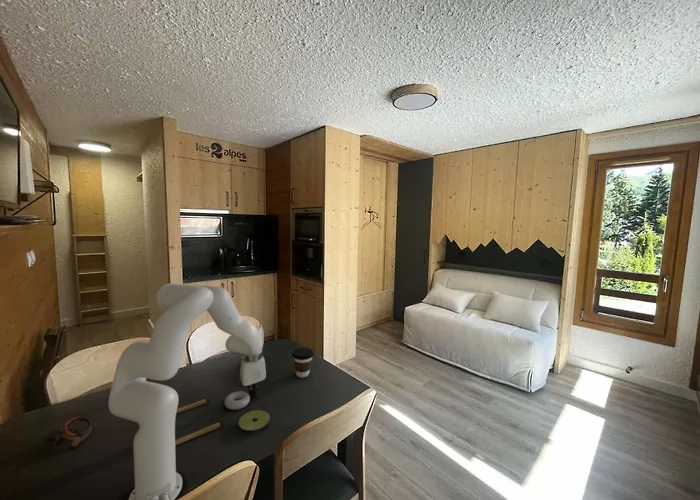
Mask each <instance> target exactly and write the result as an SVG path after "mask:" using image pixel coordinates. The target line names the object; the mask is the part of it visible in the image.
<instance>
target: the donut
mask: <svg viewBox="0 0 700 500" xmlns="http://www.w3.org/2000/svg"><path fill="white" fill-rule="evenodd" d="M250 400H251V396H249V392H246V391H243V390H237V391H234V392H232V393H229V394H228V395H227V397H225V399H224V406H225V408H227V409H228V410H231V411H236V410H237V411H238V410H240V409H243V408H246V406H247V405H248V404H249V403H250Z"/></svg>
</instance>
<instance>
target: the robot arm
mask: <svg viewBox="0 0 700 500" xmlns="http://www.w3.org/2000/svg"><path fill="white" fill-rule="evenodd" d="M155 299H156V300H155V301H156V303H157V305H158V306H159V307H160V309H163V310H164V312H162V314H161V315H160V316H159V317H158V318H157V320H156V321H155V323H154V326H153V329H152V332H151V336H150V340H148V339H139V340H136V341H133V342H132V343H130V344H129V345H128V346H127V347H126V348H125V349H124V350H123V351H122V353H121V354H120V356H119V358H118V361H117V364H116V366H115V367H116V368H115V372H114V375H113V378H112V379H113V380H112V384H111V387H110V391H109V397H108V410H109V412H110V413H111V414H112V415H113V416H115V417H118V418H121V419H124V420H128V421H130V422H131V421H132V422H135V423H137V424H138V425H139V428H138V430H137V432H136V433H135V435H134V437H133V441H132V442H133V443H132V447H133V449H132V450H133V472H134V473H133V474H134V476H133V477H134V488H133V490H132V491H131V493H130V495H129V497H128V500H175V499H176V498H177V497H178V496H179V495H180V492H181V491H182V488H183V477H182V475H181V474H180V473H178V472H177V466H176V464H177V463H176V461H177V460H176V459H177V458H176V446H175V440H176V418H177V417H176V416H177V414H176V411H177V409H178V406H179V401H180V400H179V394H178V392H177V391H176V390H175V389H174V388H173V387H171V386H169V385H166V384H162V383H158V382H152V381H148V380H147V379H149V380H153V381H168V380H171V379H172V378H174V377H175V376H176V374H177V373H178V371H179V369H180V364H181V362H182V357H183V353H184V348H185V345H186V344H185V343H186V339H187V335H188V331H189V329H190V327H191V325H192V324H193V323H194V321H196V319H197V318H198V317H200V316H201V315H202V314H203V313H204V312H206V311H207V313H208V314H209V316H210V317H211V319H212V320H213V322H214V324H215V325H216V327H217V328H218V329H219V330H220V331H222V332H224V333H225V334H228V335H229V336H228V337H227V339H226V341H225V348H226V350H227V351H228V352H229V353H230V352H231V353H233V354H240V355H242V356H239V359H240V361H241V363H240V368H239V387H240V388H242V389H243V388H246V389H248V394H249V396H250V398H251V399H254V398H256V397H257V393H258V388H259V386H260V383H261V382H263V381H264V380H265V379H266V378H267V370H266V361H265V357H264V356H263V347H264V341H263V330H262V328H261V327H260V326H256V325H255V324H254V323H252V322H251V321H250V320H249V319H247V318H246V317H244V316H243V315H241V314H240V312H239V311H238V309H237V307H236V305H235V303H234V301H233V299H232V296H231V295H230V293H229V291H228V290H227V289H226V288H224V287H221V286H214V285H205V284H189V283H177V282H176V283H174V282H170V283H167V284H165V285H163V286H161V287H160V289H159V290H158V291H157V293H156V296H155Z"/></svg>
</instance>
